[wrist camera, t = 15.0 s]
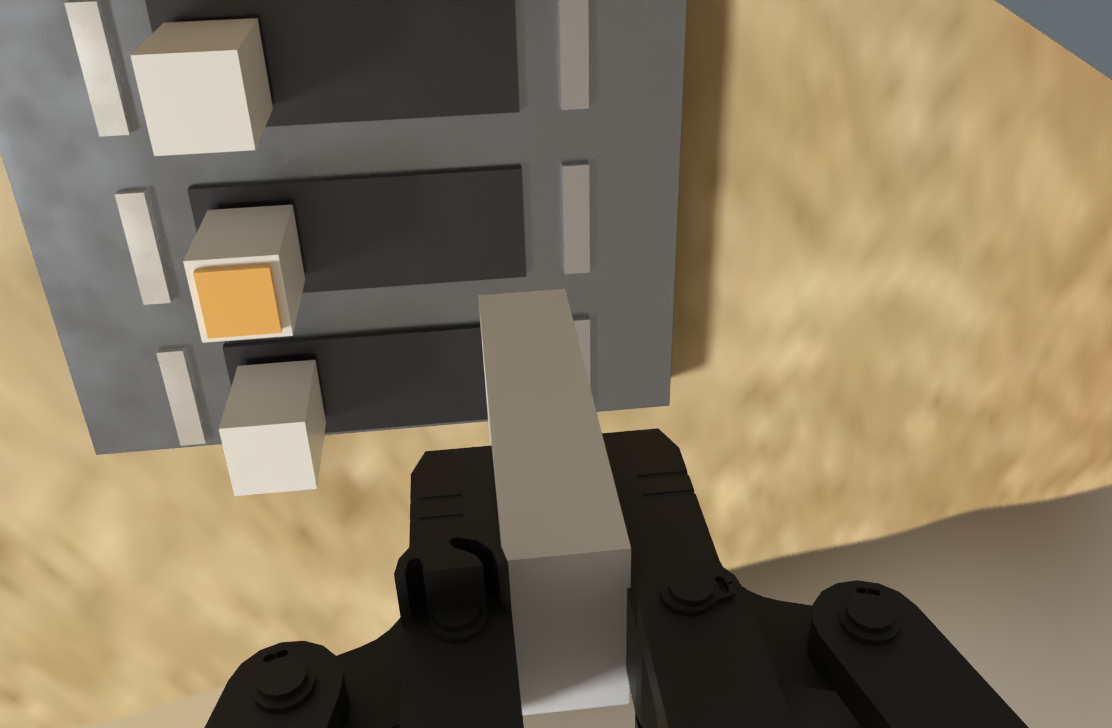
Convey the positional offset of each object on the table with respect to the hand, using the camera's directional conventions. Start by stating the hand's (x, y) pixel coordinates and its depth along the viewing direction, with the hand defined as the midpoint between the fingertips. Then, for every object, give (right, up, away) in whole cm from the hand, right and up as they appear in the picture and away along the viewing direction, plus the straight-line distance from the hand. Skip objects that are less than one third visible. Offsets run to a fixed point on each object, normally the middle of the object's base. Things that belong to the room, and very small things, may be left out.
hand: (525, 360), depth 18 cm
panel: (-7, +6, +22) cm, 23 cm away
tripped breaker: (-10, +4, +19) cm, 22 cm away
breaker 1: (-11, +10, +16) cm, 21 cm away
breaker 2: (-10, -1, +22) cm, 25 cm away
